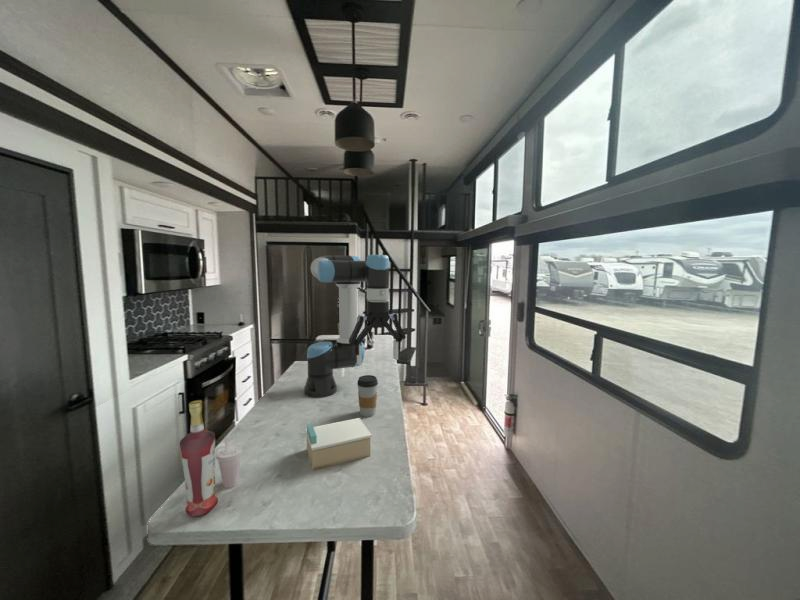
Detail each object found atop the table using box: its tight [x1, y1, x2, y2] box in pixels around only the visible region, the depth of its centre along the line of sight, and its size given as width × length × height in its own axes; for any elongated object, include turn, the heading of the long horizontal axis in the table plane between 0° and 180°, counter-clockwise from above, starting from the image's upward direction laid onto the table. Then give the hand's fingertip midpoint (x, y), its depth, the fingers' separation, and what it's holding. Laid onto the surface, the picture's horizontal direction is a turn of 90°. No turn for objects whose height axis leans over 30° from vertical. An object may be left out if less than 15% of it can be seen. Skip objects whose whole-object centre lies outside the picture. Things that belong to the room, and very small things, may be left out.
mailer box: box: [305, 435, 371, 471], centre depth 106 cm, size 12×18×6 cm, turn 115°
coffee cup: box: [357, 374, 379, 418], centre depth 134 cm, size 8×8×15 cm
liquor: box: [179, 399, 219, 517], centre depth 80 cm, size 7×7×28 cm
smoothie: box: [215, 435, 243, 489], centre depth 91 cm, size 6×6×14 cm
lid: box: [304, 417, 373, 451], centre depth 106 cm, size 13×19×3 cm
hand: (377, 361), depth 113 cm, fingers open, 13 cm apart
